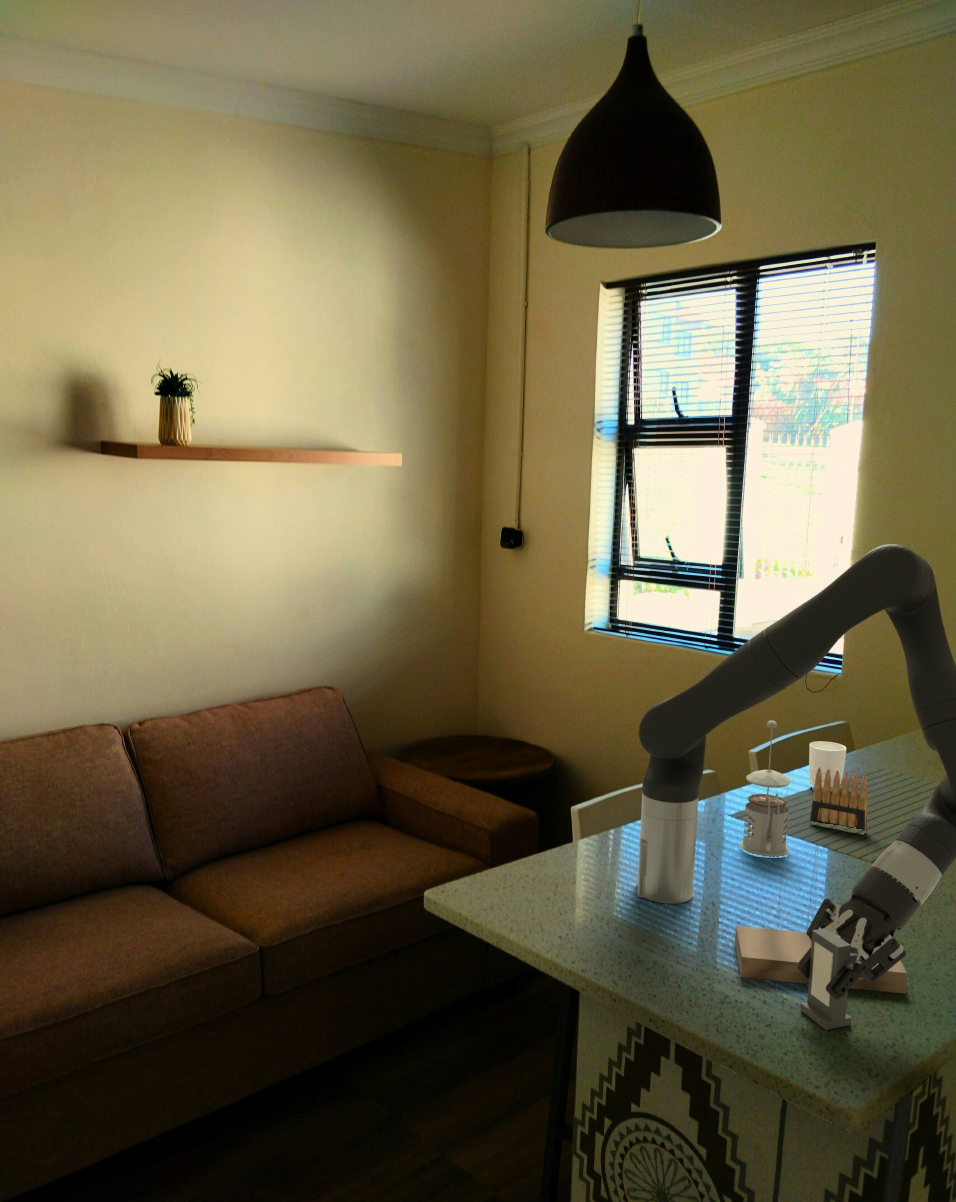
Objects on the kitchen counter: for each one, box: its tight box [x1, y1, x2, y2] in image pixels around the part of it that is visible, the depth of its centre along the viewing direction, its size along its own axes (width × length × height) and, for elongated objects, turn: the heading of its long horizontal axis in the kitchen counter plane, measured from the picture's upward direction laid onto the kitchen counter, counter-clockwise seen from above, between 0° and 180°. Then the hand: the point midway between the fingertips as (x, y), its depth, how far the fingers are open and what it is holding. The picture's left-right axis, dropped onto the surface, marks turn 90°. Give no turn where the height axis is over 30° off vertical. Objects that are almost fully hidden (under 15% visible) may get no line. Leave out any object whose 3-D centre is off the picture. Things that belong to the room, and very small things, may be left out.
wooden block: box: [734, 925, 908, 994], centre depth 146 cm, size 22×10×3 cm, turn 81°
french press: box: [739, 719, 792, 857], centre depth 190 cm, size 10×12×25 cm
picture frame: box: [800, 928, 852, 1031], centre depth 132 cm, size 4×5×11 cm
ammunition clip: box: [809, 767, 868, 830], centre depth 204 cm, size 11×2×12 cm, turn 57°
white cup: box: [808, 740, 847, 787], centre depth 230 cm, size 8×8×10 cm
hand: (816, 983), depth 131 cm, fingers closed on picture frame, 5 cm apart
